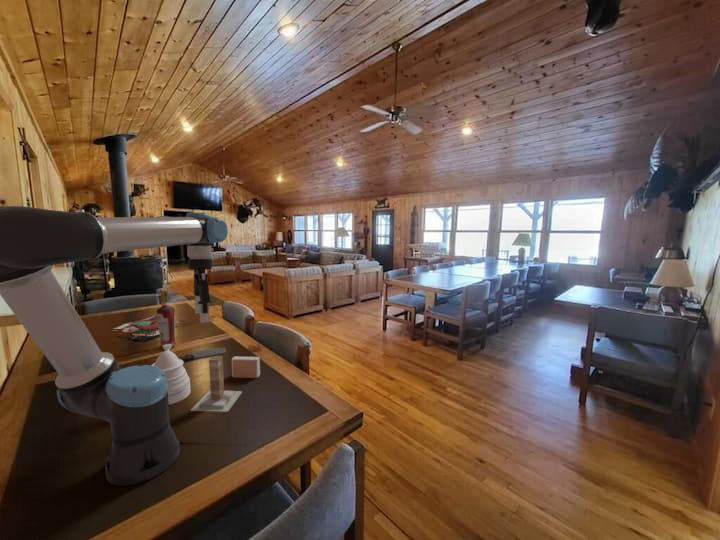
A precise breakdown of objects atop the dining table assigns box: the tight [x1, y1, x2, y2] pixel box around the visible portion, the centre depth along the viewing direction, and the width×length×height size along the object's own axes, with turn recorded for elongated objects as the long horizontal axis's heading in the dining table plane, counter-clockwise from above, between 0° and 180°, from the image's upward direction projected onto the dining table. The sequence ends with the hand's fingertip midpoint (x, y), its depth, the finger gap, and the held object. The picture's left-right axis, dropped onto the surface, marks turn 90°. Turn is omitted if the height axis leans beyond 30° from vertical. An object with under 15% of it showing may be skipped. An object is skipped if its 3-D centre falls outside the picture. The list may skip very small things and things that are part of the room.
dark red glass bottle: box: [155, 289, 177, 350], centre depth 146 cm, size 7×7×28 cm
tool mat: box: [189, 390, 243, 413], centre depth 104 cm, size 12×12×1 cm
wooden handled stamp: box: [199, 355, 235, 409], centre depth 102 cm, size 9×8×15 cm
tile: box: [231, 355, 261, 379], centre depth 120 cm, size 3×10×8 cm, turn 89°
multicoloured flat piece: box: [113, 314, 180, 342], centre depth 176 cm, size 35×35×2 cm
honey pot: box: [151, 344, 191, 405], centre depth 105 cm, size 13×13×18 cm
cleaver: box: [152, 346, 228, 364], centre depth 139 cm, size 30×10×2 cm, turn 126°
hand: (202, 317), depth 109 cm, fingers open, 13 cm apart
